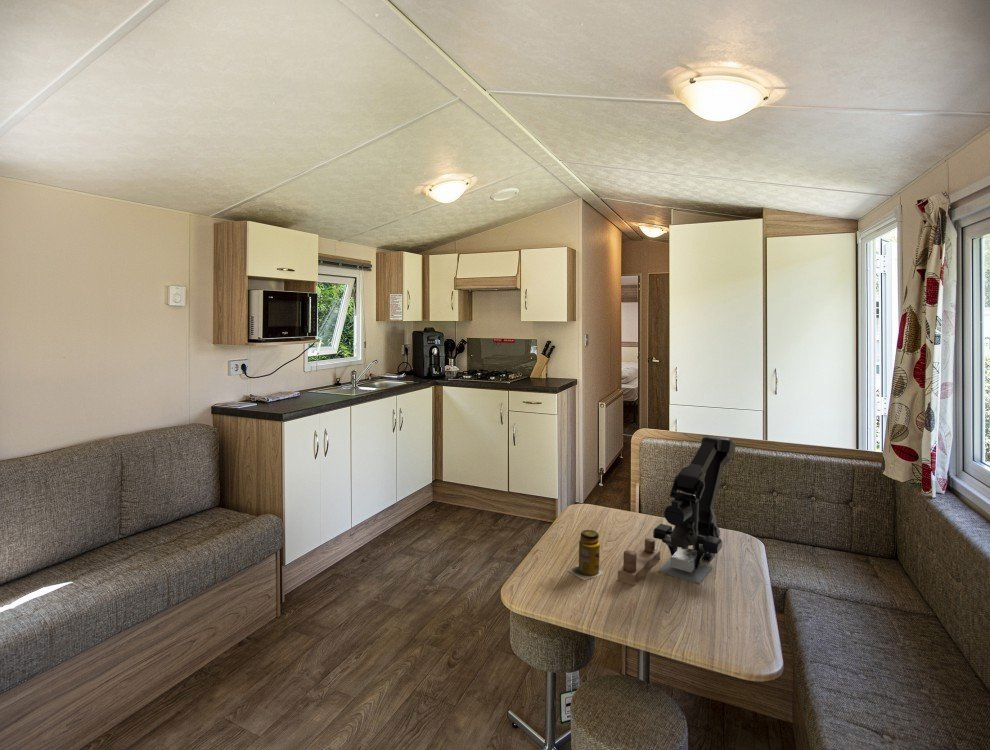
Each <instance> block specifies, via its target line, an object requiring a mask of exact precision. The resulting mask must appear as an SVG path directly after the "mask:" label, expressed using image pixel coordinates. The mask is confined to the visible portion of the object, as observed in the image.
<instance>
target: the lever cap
mask: <svg viewBox="0 0 990 750" xmlns="http://www.w3.org/2000/svg"><path fill="white" fill-rule="evenodd" d="M696 557H697V551H696V550H693V548H689V547H688V548H687V549H682V548H680V547H678V548H677V551H676V552H675V553H674V554H673V555H670V558H671V566H670V567H673V568H677V569H680V570H684V571H687V572H690V573H691V572H692V571H693V570H694V569H695V564H696Z"/></svg>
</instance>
